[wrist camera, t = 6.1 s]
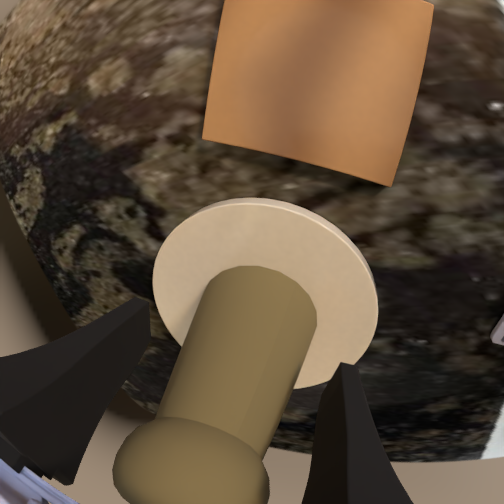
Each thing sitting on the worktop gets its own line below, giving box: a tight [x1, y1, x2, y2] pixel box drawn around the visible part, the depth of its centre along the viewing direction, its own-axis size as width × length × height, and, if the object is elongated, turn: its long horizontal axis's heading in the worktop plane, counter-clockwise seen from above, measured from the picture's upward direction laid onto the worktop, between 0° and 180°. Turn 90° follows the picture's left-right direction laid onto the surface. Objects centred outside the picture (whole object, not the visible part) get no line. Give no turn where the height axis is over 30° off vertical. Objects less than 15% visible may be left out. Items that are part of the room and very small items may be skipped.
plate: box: [153, 198, 378, 389], centre depth 17 cm, size 12×12×1 cm
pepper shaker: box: [112, 266, 317, 504], centre depth 12 cm, size 6×6×11 cm
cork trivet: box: [202, 0, 434, 187], centre depth 10 cm, size 8×8×1 cm
